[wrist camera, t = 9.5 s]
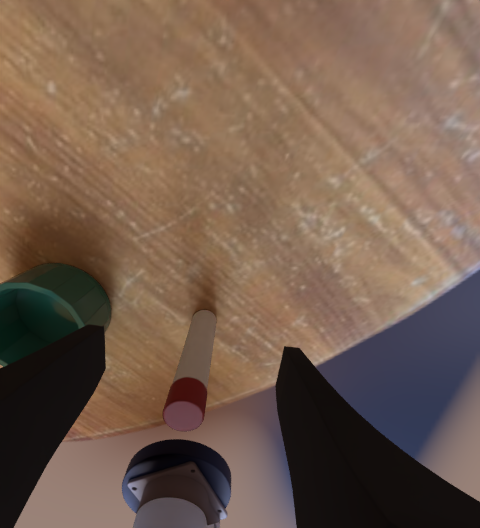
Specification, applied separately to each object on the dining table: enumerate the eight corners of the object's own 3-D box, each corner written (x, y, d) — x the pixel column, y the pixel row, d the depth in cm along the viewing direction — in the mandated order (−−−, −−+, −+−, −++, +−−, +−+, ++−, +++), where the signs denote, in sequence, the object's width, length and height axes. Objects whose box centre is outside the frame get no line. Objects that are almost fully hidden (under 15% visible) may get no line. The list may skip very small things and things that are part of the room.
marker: (221, 326, 21) (210, 425, 13) (198, 334, 21) (173, 437, 13) (211, 305, 20) (192, 395, 12) (187, 313, 20) (154, 407, 12)
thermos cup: (128, 328, 21) (107, 358, 18) (52, 357, 22) (18, 391, 18) (78, 248, 19) (43, 265, 15) (-4, 283, 20) (-53, 306, 16)
